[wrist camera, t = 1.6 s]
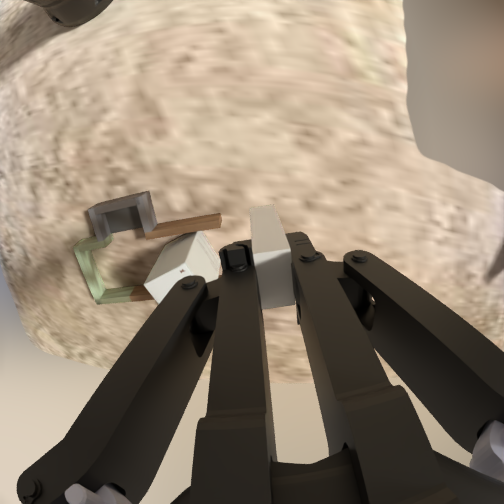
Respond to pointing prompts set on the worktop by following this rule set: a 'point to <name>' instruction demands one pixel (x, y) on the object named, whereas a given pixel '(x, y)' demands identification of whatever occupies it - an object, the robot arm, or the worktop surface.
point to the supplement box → (182, 263)
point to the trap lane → (121, 219)
